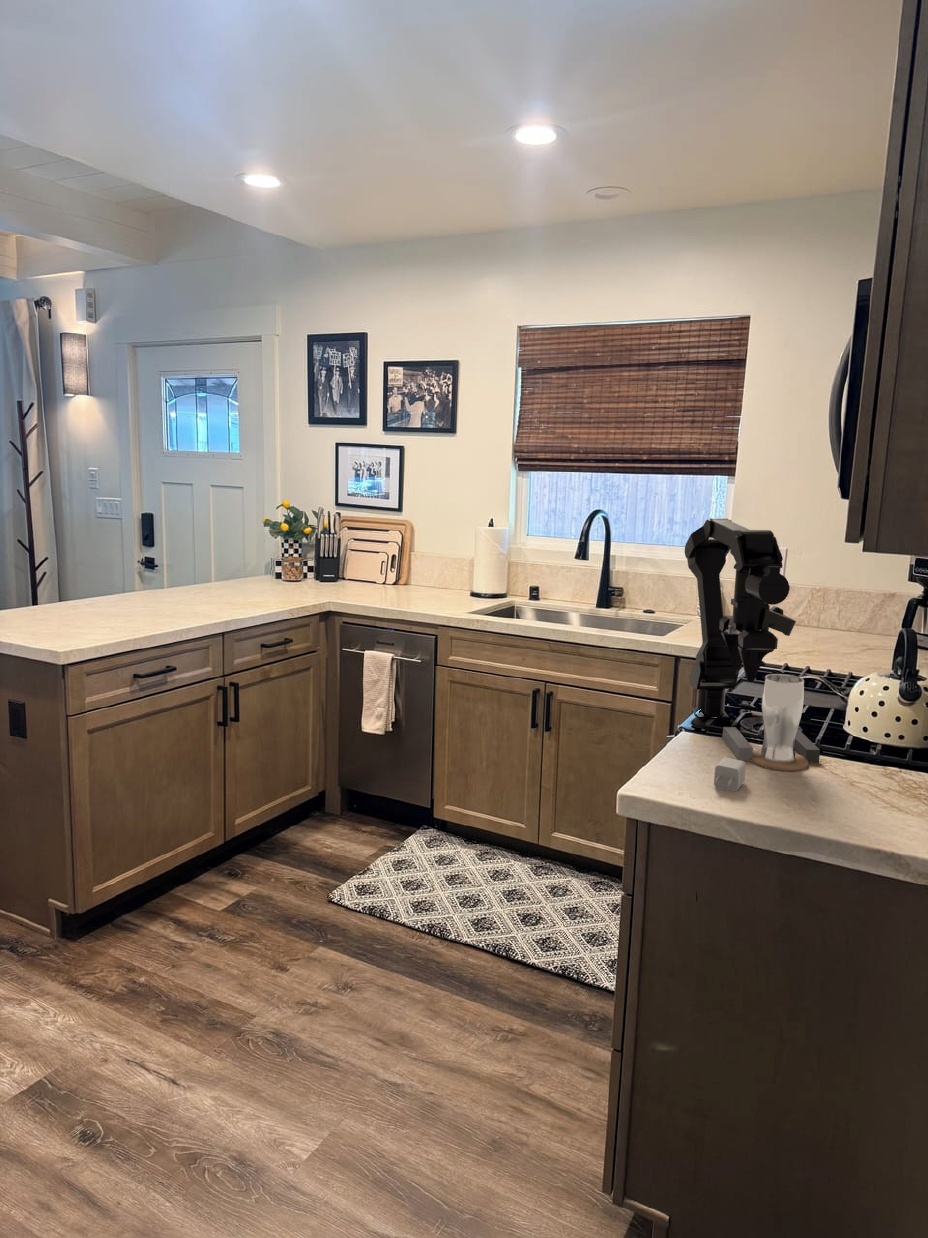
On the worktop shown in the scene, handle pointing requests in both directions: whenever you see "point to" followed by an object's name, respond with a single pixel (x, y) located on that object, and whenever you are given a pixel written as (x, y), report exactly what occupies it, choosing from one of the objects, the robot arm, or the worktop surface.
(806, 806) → the worktop surface
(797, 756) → the coaster
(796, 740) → the long grey square rod
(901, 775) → the worktop surface
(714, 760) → the worktop surface
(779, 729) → the silver metal cup
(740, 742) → the grey square beam
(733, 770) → the usb wall charger
